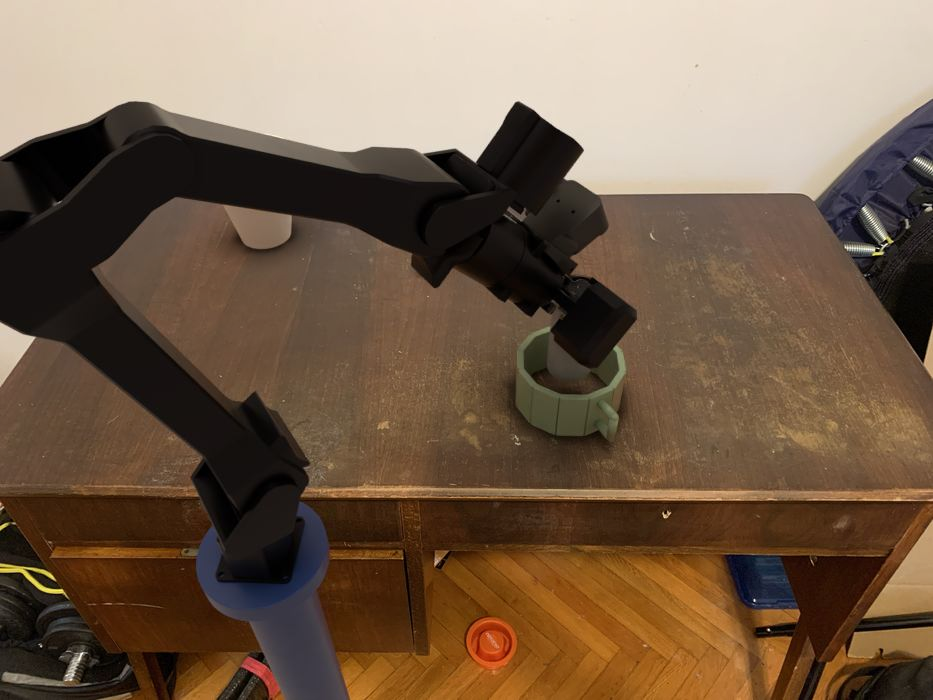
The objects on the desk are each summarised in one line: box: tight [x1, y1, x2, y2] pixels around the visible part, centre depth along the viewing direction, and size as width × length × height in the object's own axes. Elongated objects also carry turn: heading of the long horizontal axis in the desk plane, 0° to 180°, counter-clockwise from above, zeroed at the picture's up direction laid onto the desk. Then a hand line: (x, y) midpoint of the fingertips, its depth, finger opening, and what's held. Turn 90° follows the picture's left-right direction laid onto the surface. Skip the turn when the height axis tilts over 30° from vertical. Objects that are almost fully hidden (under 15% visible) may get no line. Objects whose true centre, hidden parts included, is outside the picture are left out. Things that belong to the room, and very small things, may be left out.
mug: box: [514, 325, 627, 442], centre depth 75 cm, size 14×11×6 cm
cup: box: [222, 132, 293, 250], centre depth 97 cm, size 12×12×12 cm
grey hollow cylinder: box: [546, 274, 592, 383], centre depth 71 cm, size 4×4×10 cm
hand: (586, 309), depth 71 cm, fingers closed on grey hollow cylinder, 4 cm apart
